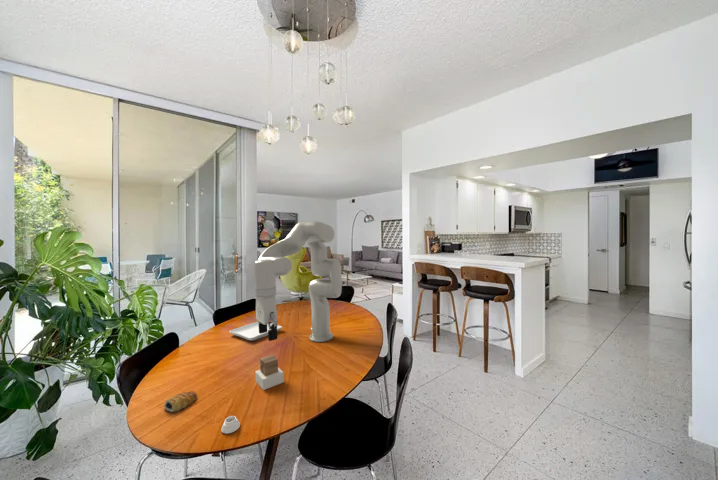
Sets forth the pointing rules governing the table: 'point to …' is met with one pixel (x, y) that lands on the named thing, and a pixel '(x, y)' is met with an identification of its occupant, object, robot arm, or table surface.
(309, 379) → the table surface
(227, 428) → the white jar
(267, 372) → the cube
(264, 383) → the base
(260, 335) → the salad plate
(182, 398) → the pastry
